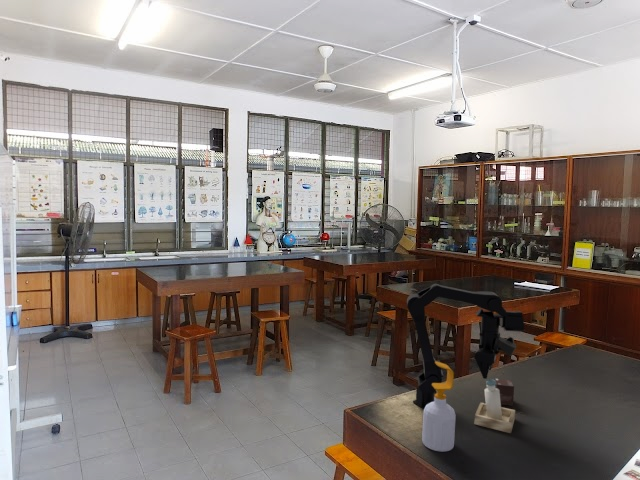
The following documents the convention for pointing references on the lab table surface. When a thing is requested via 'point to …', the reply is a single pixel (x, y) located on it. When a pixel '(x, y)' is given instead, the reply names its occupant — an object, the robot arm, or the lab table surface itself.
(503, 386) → the box
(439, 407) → the soap bottle
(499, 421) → the oak tray
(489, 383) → the reagent bottle
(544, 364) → the lab table surface
